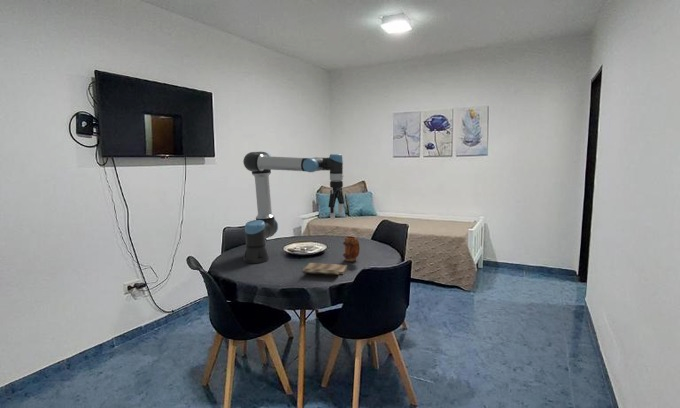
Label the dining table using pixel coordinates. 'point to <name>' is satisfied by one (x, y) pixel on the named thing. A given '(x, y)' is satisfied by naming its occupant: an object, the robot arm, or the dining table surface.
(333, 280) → the dining table surface
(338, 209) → the robot arm
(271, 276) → the dining table surface
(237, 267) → the dining table surface
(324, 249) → the dining table surface
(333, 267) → the floorboard
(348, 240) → the mug
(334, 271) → the plank
